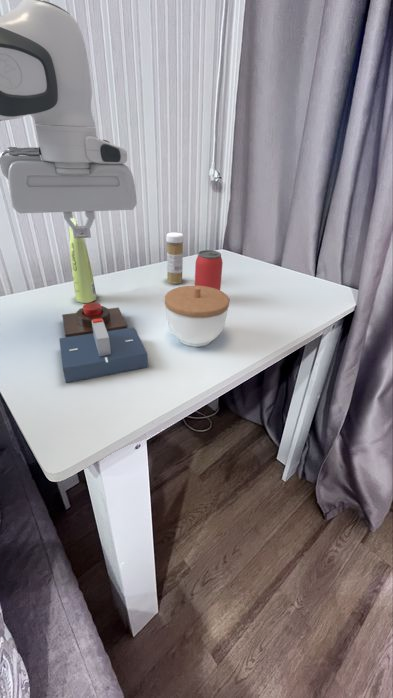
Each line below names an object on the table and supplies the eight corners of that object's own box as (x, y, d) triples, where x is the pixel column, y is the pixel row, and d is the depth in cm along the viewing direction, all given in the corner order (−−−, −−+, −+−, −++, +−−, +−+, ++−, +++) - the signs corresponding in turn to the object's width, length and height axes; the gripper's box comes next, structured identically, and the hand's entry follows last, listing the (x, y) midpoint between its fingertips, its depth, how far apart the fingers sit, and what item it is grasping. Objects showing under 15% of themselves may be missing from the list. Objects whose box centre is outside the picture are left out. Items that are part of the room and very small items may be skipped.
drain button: (84, 318, 67) (83, 311, 66) (83, 311, 69) (81, 303, 68) (103, 316, 68) (102, 308, 67) (100, 309, 71) (99, 301, 70)
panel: (66, 385, 55) (62, 369, 53) (62, 350, 63) (59, 335, 61) (148, 369, 59) (148, 354, 58) (134, 338, 68) (133, 324, 66)
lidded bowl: (201, 318, 77) (203, 272, 71) (237, 342, 68) (244, 292, 62) (153, 333, 70) (152, 283, 64) (188, 361, 62) (189, 308, 56)
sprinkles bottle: (180, 278, 97) (181, 231, 90) (184, 284, 94) (185, 235, 86) (165, 279, 96) (164, 231, 89) (168, 285, 93) (167, 236, 85)
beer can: (223, 303, 84) (228, 256, 78) (199, 306, 82) (202, 258, 75) (213, 293, 89) (216, 248, 83) (190, 296, 87) (191, 250, 81)
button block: (66, 344, 65) (63, 326, 63) (63, 323, 72) (60, 306, 70) (127, 334, 69) (126, 317, 67) (119, 316, 76) (117, 300, 74)
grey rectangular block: (111, 354, 57) (108, 336, 55) (99, 356, 57) (96, 337, 55) (104, 335, 63) (102, 317, 61) (93, 336, 62) (91, 319, 60)
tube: (69, 301, 82) (54, 217, 71) (82, 293, 86) (70, 213, 75) (88, 305, 80) (76, 220, 69) (101, 297, 84) (91, 216, 73)
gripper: (-7, 147, 47) (18, 245, 54) (136, 151, 54) (140, 238, 61) (-3, 145, 52) (19, 236, 59) (128, 149, 59) (133, 230, 66)
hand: (82, 237), depth 60 cm, fingers closed
